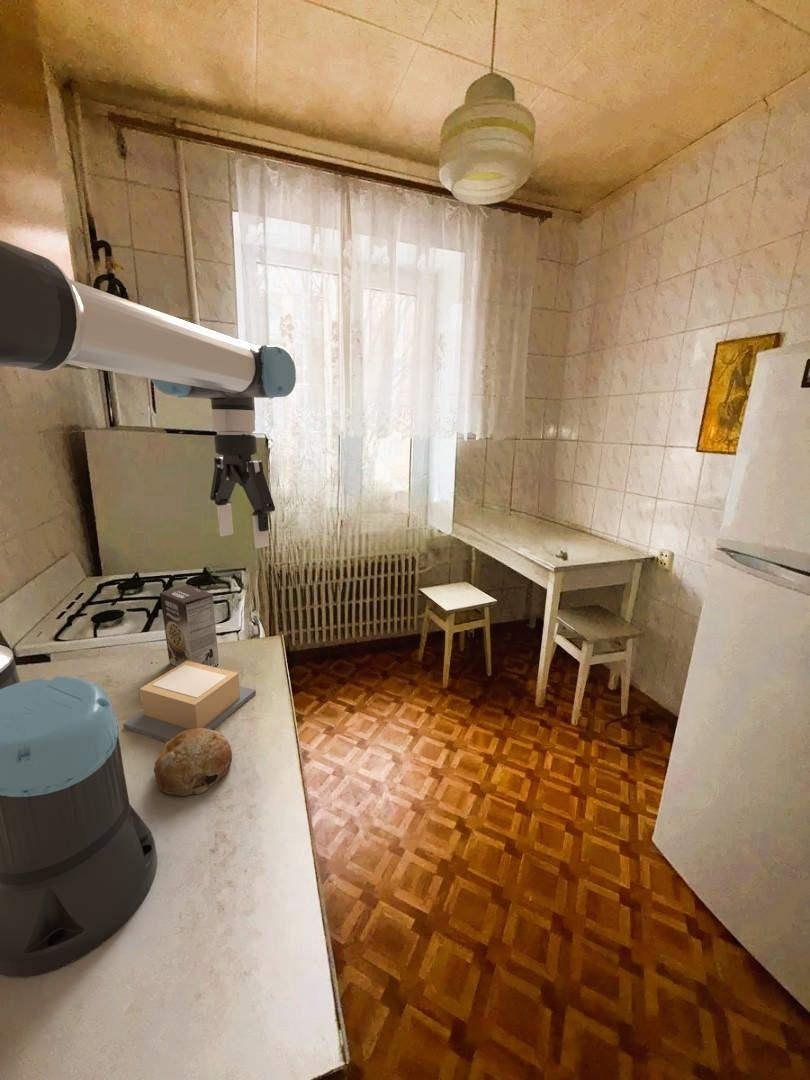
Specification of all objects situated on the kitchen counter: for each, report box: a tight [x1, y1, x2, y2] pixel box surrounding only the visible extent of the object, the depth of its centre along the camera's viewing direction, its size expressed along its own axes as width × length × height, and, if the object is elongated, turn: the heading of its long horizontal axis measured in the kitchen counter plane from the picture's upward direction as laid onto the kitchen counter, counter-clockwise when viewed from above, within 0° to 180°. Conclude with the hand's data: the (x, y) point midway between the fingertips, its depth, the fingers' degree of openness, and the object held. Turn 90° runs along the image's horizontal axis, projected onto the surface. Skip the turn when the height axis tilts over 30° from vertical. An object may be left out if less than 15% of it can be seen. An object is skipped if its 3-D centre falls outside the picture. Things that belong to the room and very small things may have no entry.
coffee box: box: [159, 584, 220, 667], centre depth 91 cm, size 9×6×16 cm
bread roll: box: [153, 728, 233, 797], centre depth 64 cm, size 10×10×8 cm
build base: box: [122, 661, 257, 743], centre depth 77 cm, size 16×14×6 cm
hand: (243, 540), depth 89 cm, fingers open, 13 cm apart
